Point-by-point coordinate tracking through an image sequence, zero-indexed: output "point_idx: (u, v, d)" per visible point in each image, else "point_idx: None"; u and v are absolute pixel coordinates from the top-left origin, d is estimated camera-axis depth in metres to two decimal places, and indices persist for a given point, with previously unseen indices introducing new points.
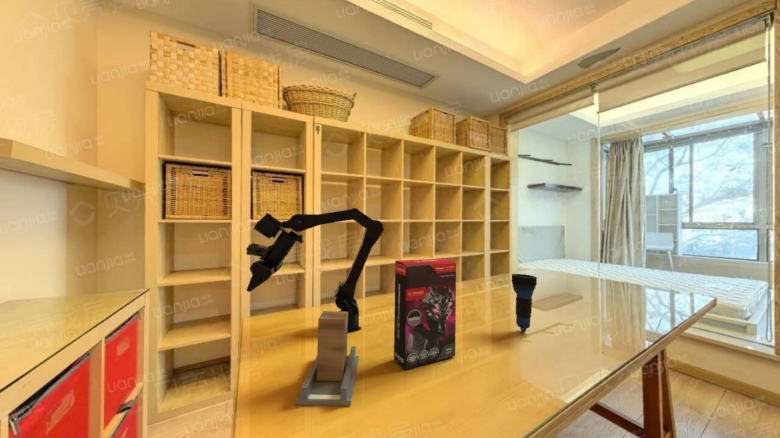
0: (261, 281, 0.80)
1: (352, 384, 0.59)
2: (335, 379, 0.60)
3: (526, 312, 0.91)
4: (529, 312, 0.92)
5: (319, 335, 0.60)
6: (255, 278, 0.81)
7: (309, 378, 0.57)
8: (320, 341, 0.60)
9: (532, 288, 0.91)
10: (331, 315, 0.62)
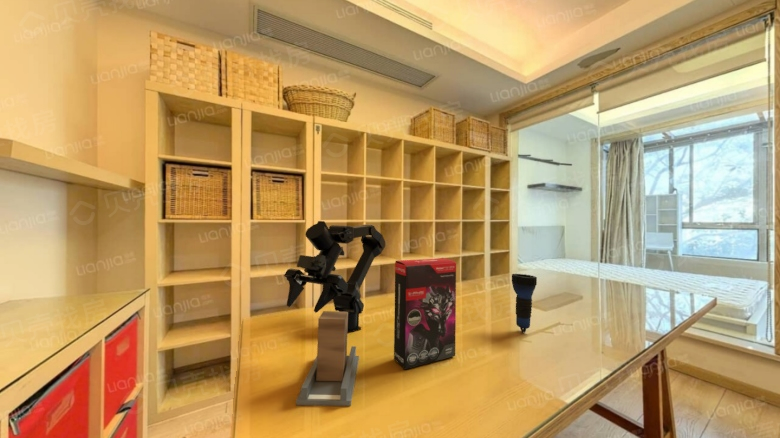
0: (331, 297, 0.72)
1: (352, 384, 0.59)
2: (335, 379, 0.60)
3: (526, 312, 0.91)
4: (529, 312, 0.92)
5: (319, 335, 0.60)
6: (326, 295, 0.71)
7: (309, 378, 0.57)
8: (320, 341, 0.60)
9: (532, 288, 0.91)
10: (331, 315, 0.62)
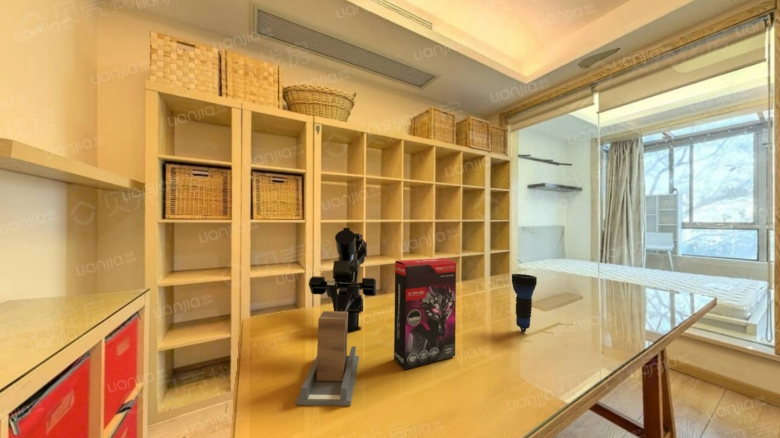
0: (352, 300, 0.75)
1: (352, 384, 0.59)
2: (335, 379, 0.60)
3: (526, 312, 0.91)
4: (529, 312, 0.92)
5: (319, 335, 0.60)
6: (349, 298, 0.74)
7: (309, 378, 0.57)
8: (320, 341, 0.60)
9: (532, 288, 0.91)
10: (331, 315, 0.62)
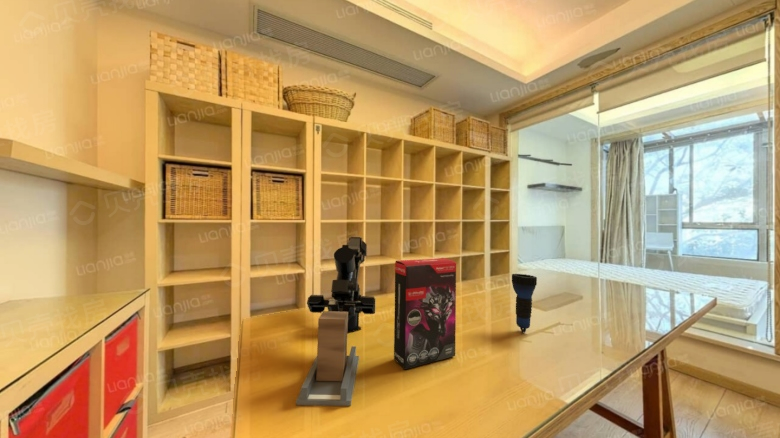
0: None
1: (352, 384, 0.59)
2: (335, 379, 0.60)
3: (526, 312, 0.91)
4: (529, 312, 0.92)
5: (319, 335, 0.60)
6: None
7: (309, 378, 0.57)
8: (320, 341, 0.60)
9: (532, 288, 0.91)
10: (331, 315, 0.62)
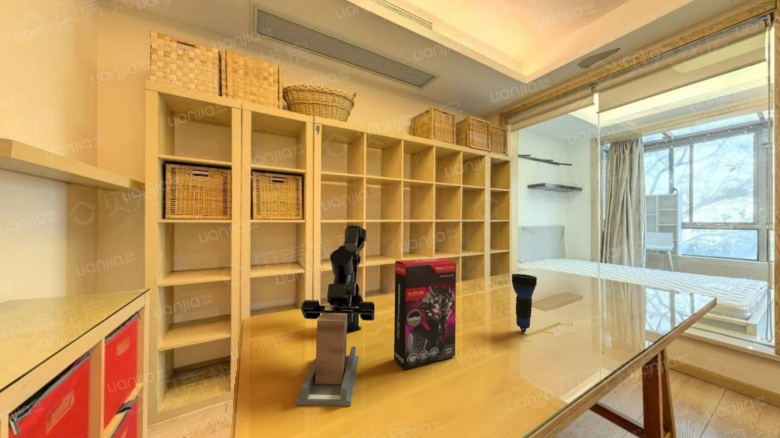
0: None
1: (352, 384, 0.59)
2: (334, 382, 0.59)
3: (526, 312, 0.91)
4: (529, 312, 0.92)
5: (318, 337, 0.59)
6: None
7: (309, 378, 0.57)
8: (319, 343, 0.59)
9: (532, 288, 0.91)
10: (330, 317, 0.61)
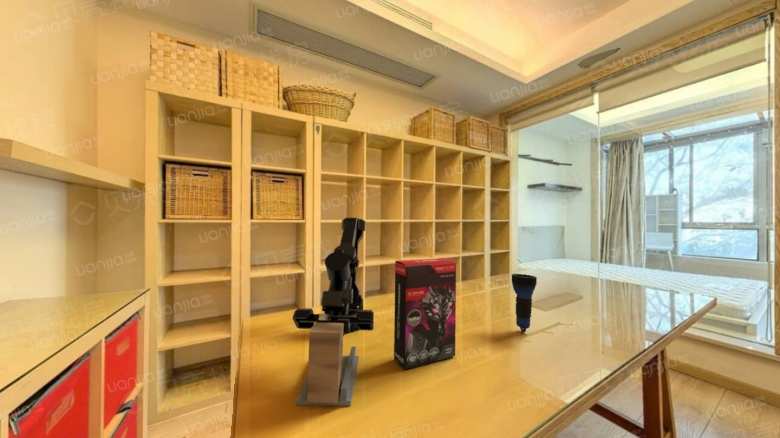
0: None
1: (352, 384, 0.59)
2: (328, 401, 0.53)
3: (526, 312, 0.91)
4: (529, 312, 0.92)
5: (310, 351, 0.53)
6: None
7: None
8: (311, 358, 0.53)
9: (532, 288, 0.91)
10: (324, 328, 0.55)
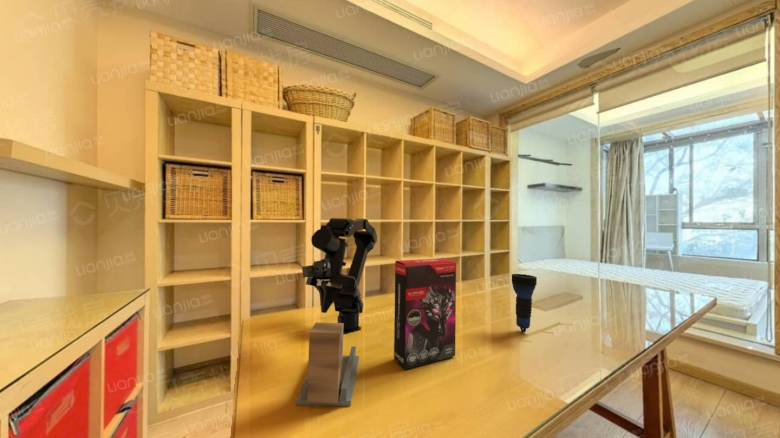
0: (335, 295, 0.75)
1: (352, 384, 0.59)
2: (328, 401, 0.53)
3: (526, 312, 0.91)
4: (529, 312, 0.92)
5: (310, 351, 0.53)
6: (328, 295, 0.74)
7: None
8: (311, 358, 0.53)
9: (532, 288, 0.91)
10: (324, 328, 0.55)
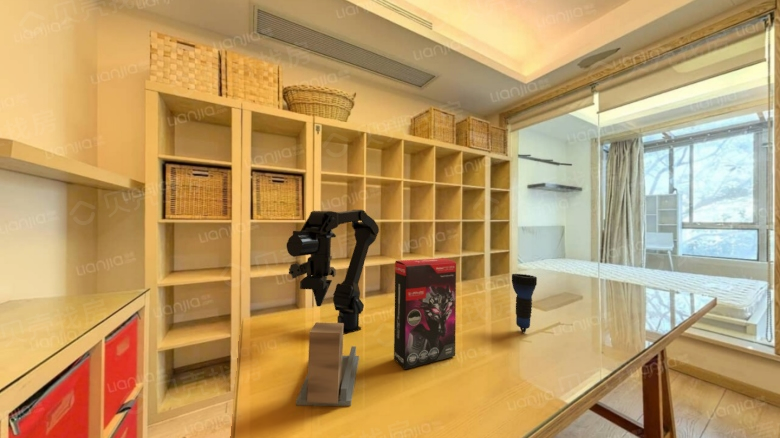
0: (323, 290, 0.77)
1: (352, 384, 0.59)
2: (328, 401, 0.53)
3: (526, 312, 0.91)
4: (529, 312, 0.92)
5: (310, 351, 0.53)
6: (317, 291, 0.77)
7: None
8: (311, 358, 0.53)
9: (532, 288, 0.91)
10: (324, 328, 0.55)
